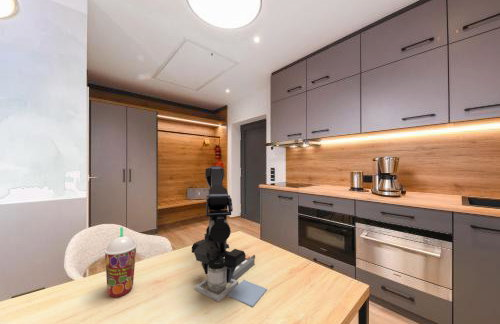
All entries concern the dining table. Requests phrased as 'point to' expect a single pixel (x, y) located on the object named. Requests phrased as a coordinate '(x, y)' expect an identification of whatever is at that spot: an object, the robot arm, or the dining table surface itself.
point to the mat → (247, 293)
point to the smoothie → (120, 265)
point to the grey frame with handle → (237, 273)
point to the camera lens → (216, 276)
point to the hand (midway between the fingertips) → (217, 277)
